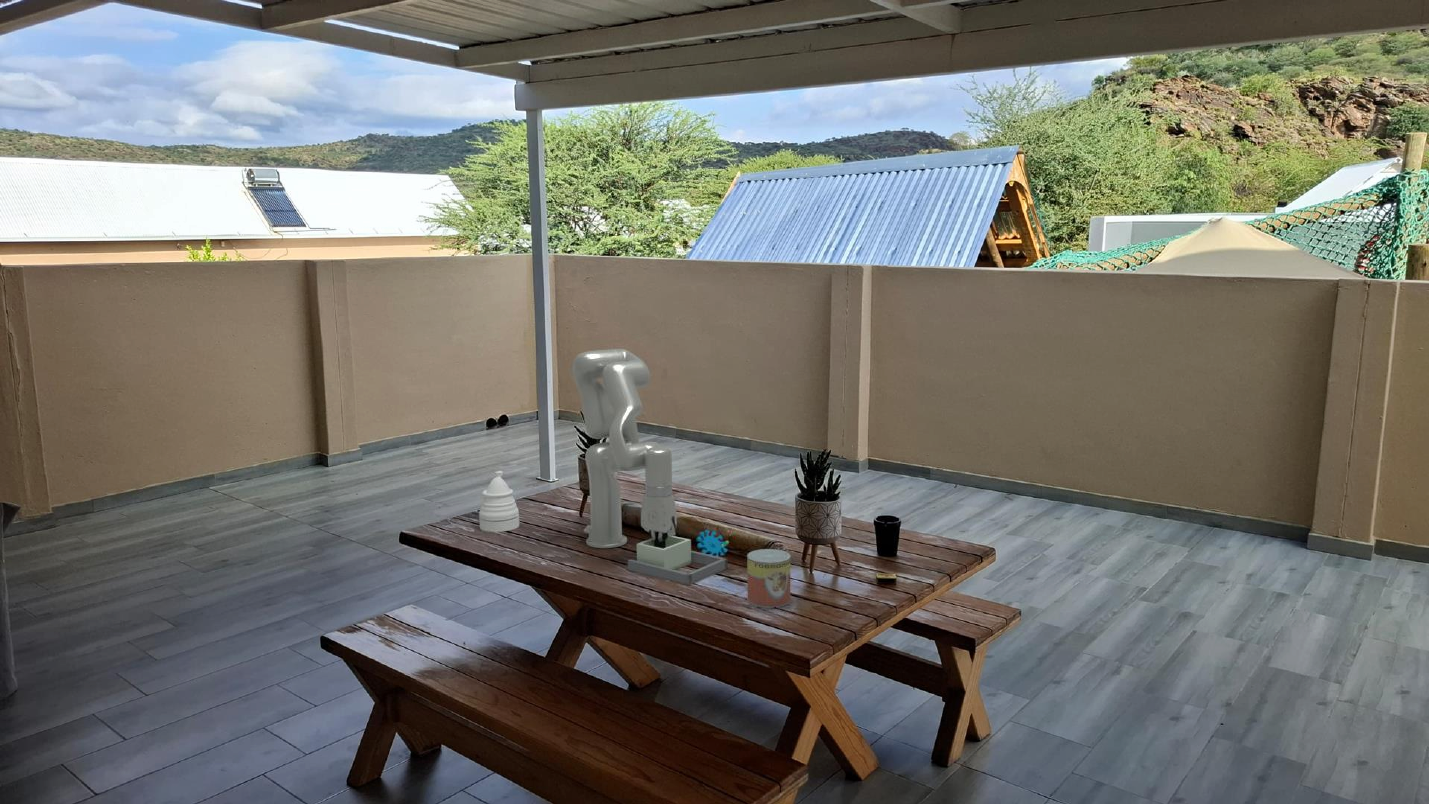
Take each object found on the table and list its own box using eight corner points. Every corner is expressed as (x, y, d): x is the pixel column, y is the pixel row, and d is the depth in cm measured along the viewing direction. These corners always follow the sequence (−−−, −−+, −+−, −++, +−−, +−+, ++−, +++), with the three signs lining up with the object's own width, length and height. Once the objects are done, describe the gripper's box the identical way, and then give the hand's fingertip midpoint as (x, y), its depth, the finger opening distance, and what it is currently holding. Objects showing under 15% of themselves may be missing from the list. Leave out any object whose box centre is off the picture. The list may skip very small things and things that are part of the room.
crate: (637, 567, 278) (636, 543, 277) (664, 557, 287) (664, 533, 286) (664, 574, 272) (663, 550, 271) (691, 563, 281) (690, 539, 280)
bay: (628, 573, 276) (627, 560, 276) (667, 557, 290) (667, 545, 289) (689, 589, 263) (688, 575, 263) (727, 571, 277) (727, 558, 276)
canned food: (758, 610, 247) (758, 564, 245) (740, 596, 257) (739, 552, 256) (798, 603, 252) (798, 558, 250) (778, 590, 262) (778, 546, 260)
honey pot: (488, 520, 332) (485, 468, 329) (524, 521, 330) (522, 469, 327) (473, 531, 319) (471, 477, 317) (511, 532, 318) (509, 478, 315)
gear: (704, 558, 283) (694, 529, 289) (695, 569, 287) (685, 539, 292) (735, 556, 290) (724, 528, 295) (726, 567, 293) (715, 538, 299)
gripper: (630, 489, 278) (631, 551, 281) (670, 497, 269) (671, 561, 272) (647, 484, 284) (648, 545, 287) (687, 491, 275) (688, 554, 278)
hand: (660, 553), depth 280 cm, fingers closed
